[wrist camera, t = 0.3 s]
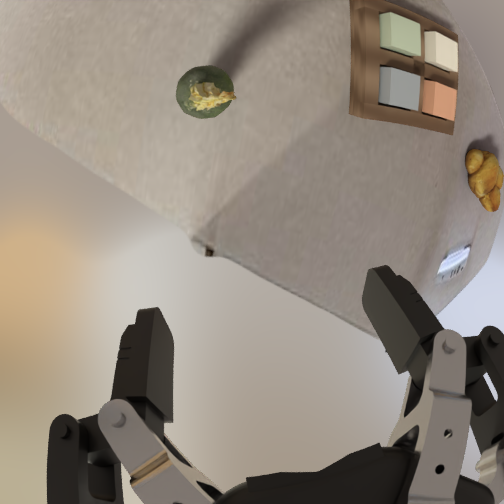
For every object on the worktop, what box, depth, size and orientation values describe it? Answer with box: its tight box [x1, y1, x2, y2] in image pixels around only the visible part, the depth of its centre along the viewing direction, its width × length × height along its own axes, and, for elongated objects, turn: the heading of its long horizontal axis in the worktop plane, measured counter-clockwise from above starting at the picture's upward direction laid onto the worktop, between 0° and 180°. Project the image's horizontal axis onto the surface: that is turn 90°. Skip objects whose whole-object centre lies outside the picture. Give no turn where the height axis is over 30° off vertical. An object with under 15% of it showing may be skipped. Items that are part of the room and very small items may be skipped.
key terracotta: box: [422, 80, 457, 121], centre depth 27 cm, size 5×5×3 cm
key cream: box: [424, 31, 458, 72], centre depth 23 cm, size 5×5×3 cm
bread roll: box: [465, 149, 504, 212], centre depth 36 cm, size 13×10×8 cm
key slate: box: [378, 67, 420, 111], centre depth 27 cm, size 5×5×3 cm
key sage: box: [379, 12, 421, 56], centre depth 22 cm, size 5×5×3 cm
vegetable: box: [176, 65, 236, 119], centre depth 21 cm, size 4×4×20 cm
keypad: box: [349, 0, 458, 135], centre depth 27 cm, size 18×18×4 cm
